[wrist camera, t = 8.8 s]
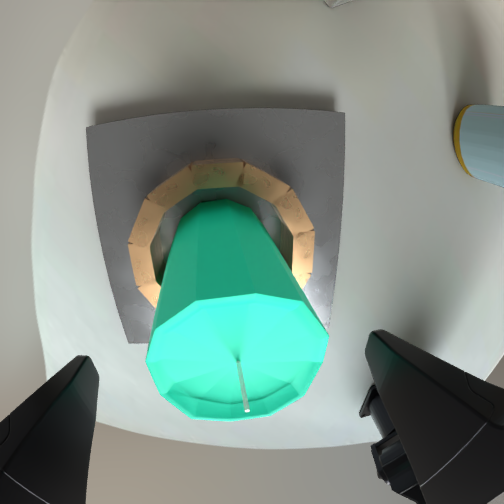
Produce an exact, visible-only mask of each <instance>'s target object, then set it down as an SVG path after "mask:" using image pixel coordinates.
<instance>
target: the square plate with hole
mask: <svg viewBox="0 0 504 504" xmlns="http://www.w3.org/2000/svg"><path fill="white" fill-rule="evenodd" d="M86 135H87V150H88V162H89V172H90V180H91V188H92V195H93V202H94V209H95V215H96V221H97V226H98V232H99V237H100V242H101V246H102V251H103V256H104V260H105V264H106V269H107V273H108V277H109V281H110V284H111V288H112V292H113V295H114V299H115V302H116V306H117V309H118V313H119V316H120V319H121V322H122V325H123V328H124V331H125V334H126V337H127V340H128V343H149V340H150V335H151V330H152V325H153V320H154V315H155V311H156V306H157V302H158V297H159V293H160V289H161V284H162V280H163V276H164V272H165V268H166V264H167V260H168V256H169V253H170V249H171V245H172V242H173V239H174V236H175V233H176V230H177V227H178V224H179V222H180V219H181V218H182V217H183V216H185V215H186V214H187V213H188V212H189V211H191V210H192V209H193V208H194V207H196V206H197V205H198V204H199V203H202V202H208V201H215V200H221V199H228V200H231V201H234V202H236V203H239V204H241V205H244V206H246V207H249V208H250V209H251V210H252V211H253V212H254V214H255V215H256V216H257V218H258V219H259V220H260V222H261V223H262V224H263V225H264V227H265V228H266V230H267V232H268V233H269V235H270V237H271V238H272V240H273V242H274V243H275V245H276V246H277V248H278V250H279V251H280V253H281V255H282V256H283V258H284V260H285V261H286V263H287V265H288V266H289V268H290V270H291V271H292V273H293V275H294V277H295V278H296V280H297V282H298V283H299V285H300V287H301V288H302V290H303V292H304V293H305V295H306V297H307V299H308V300H309V302H310V304H311V305H312V307H313V309H314V311H315V312H316V314H317V316H318V317H319V319H320V321H321V323H322V324H323V326H324V328H325V327H329V323H330V316H331V310H332V303H333V295H334V288H335V280H336V271H337V262H338V253H339V243H340V231H341V219H342V204H343V186H344V159H345V113H343V112H333V111H321V110H307V109H287V108H230V109H210V110H196V111H184V112H174V113H165V114H157V115H150V116H143V117H137V118H130V119H125V120H119V121H114V122H109V123H104V124H99V125H94V126H90V127H86Z"/></svg>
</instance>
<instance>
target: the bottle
mask: <svg viewBox="0 0 504 504" xmlns="http://www.w3.org/2000/svg"><path fill="white" fill-rule="evenodd" d="M453 134H454V136H453V141H454V147H455V152H456V155H457V158H458V160H459V162H460V164H461V166H462V167H463V169H464V170H465V172H466V173H467V174H469V175H470V176H472V177H475V178H477V179H480V180H483V181H486V182H489V183H492V184H495V185H498V186H501V187H504V106H493V105H467V106H466V107H464V108H463V109H462V110H461V112H460V113H459V115H458V117H457V119H456V121H455V126H454V131H453Z"/></svg>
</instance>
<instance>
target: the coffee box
mask: <svg viewBox="0 0 504 504" xmlns="http://www.w3.org/2000/svg"><path fill="white" fill-rule="evenodd" d="M324 1H325V2H326V4H327V5H328V6H329V7H331V8H332V7H336V6H338V5H341V4H344V3H347V2H350V1H353V0H324Z"/></svg>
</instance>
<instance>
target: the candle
mask: <svg viewBox="0 0 504 504" xmlns="http://www.w3.org/2000/svg"><path fill="white" fill-rule="evenodd" d="M328 339H329V335H328V333H327V331H326V330H325V328H324V326H323V324H322V323H321V321H320V319H319V317H318V316H317V314H316V312H315V311H314V309H313V307H312V305H311V304H310V302H309V300H308V299H307V297H306V295H305V293H304V292H303V290H302V288H301V287H300V285H299V283H298V282H297V280H296V278H295V277H294V275H293V273H292V271H291V270H290V268H289V266H288V265H287V263H286V261H285V260H284V258H283V256H282V255H281V253H280V251H279V250H278V248H277V246H276V245H275V243H274V242H273V240H272V238H271V237H270V235H269V233H268V232H267V230H266V228H265V227H264V225H263V224H262V223H261V222H260V220H259V219H258V218H257V216H256V215H255V214H254V212H253V211H252V210H251V209H250V208H249V207H246V206H244V205H241V204H239V203H236V202H234V201H231V200H228V199H221V200H215V201H208V202H202V203H199V204H198V205H197V206H196V207H194V208H193V209H192V210H191V211H189V212H188V213H187V214H186V215H185V216H183V217H182V218H181V219H180V222H179V224H178V227H177V230H176V233H175V236H174V239H173V242H172V245H171V249H170V253H169V256H168V260H167V264H166V268H165V272H164V276H163V280H162V284H161V289H160V293H159V297H158V302H157V306H156V311H155V315H154V320H153V325H152V330H151V335H150V340H149V345H148V350H147V356H146V361H145V362H146V364H147V366H148V369H149V371H150V373H151V376H152V378H153V380H154V382H155V385H156V387H157V389H158V391H159V393H160V395H161V396H162V397H164V398H165V399H166V400H167V401H169V402H170V403H171V404H172V405H174V406H175V407H176V408H178V409H179V410H180V411H182V412H183V413H184V414H186V415H187V416H188V417H190V418H191V419H199V420H213V421H238V420H246V419H253V418H260V417H266V416H271V415H273V414H274V413H276V412H278V411H280V410H281V409H283V408H285V407H286V406H288V405H290V404H291V403H293V402H295V401H296V400H298V399H300V398H301V397H303V396H304V395H305V393H306V391H307V390H308V388H309V386H310V384H311V383H312V381H313V379H314V377H315V376H316V374H317V372H318V370H319V368H320V366H321V364H322V363H323V360H324V356H325V351H326V347H327V343H328Z"/></svg>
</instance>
